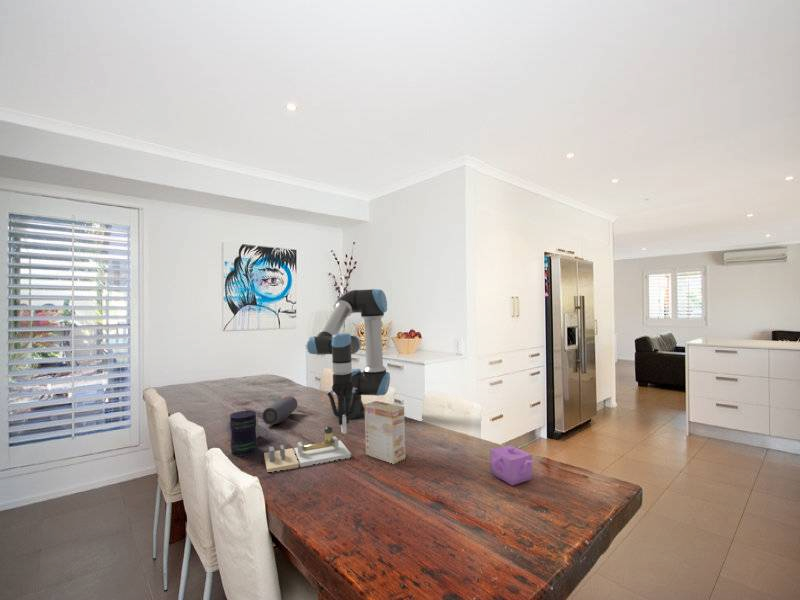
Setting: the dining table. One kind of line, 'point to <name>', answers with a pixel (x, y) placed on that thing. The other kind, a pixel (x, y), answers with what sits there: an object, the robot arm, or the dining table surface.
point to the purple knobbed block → (511, 464)
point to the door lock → (303, 456)
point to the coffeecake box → (385, 431)
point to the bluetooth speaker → (279, 410)
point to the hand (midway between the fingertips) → (343, 432)
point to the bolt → (327, 443)
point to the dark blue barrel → (243, 433)
